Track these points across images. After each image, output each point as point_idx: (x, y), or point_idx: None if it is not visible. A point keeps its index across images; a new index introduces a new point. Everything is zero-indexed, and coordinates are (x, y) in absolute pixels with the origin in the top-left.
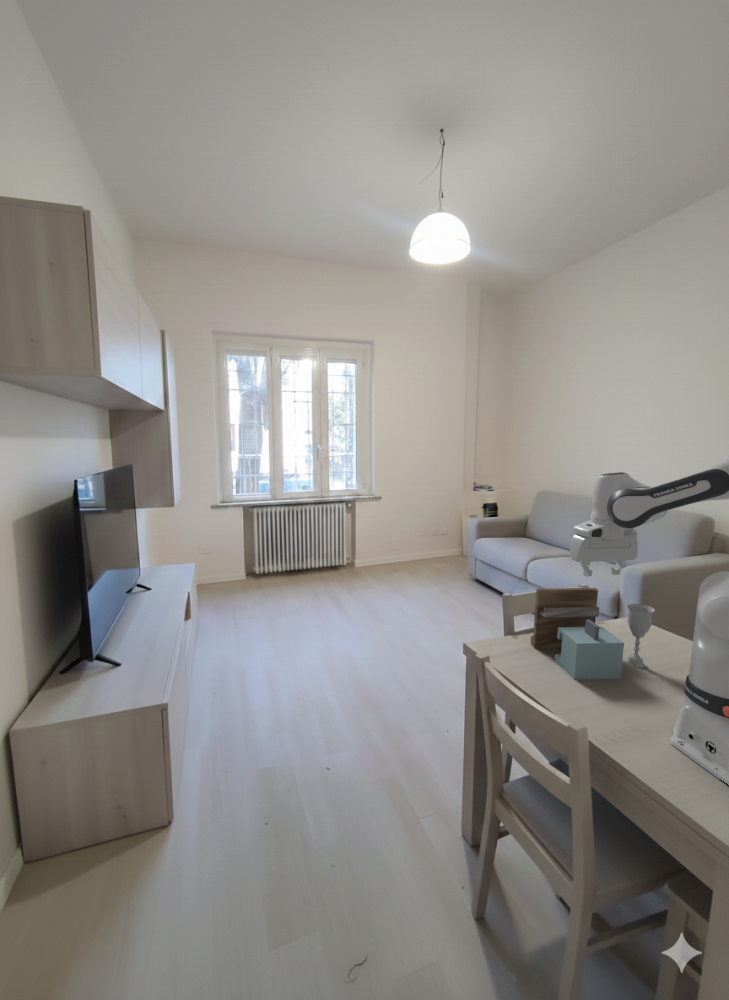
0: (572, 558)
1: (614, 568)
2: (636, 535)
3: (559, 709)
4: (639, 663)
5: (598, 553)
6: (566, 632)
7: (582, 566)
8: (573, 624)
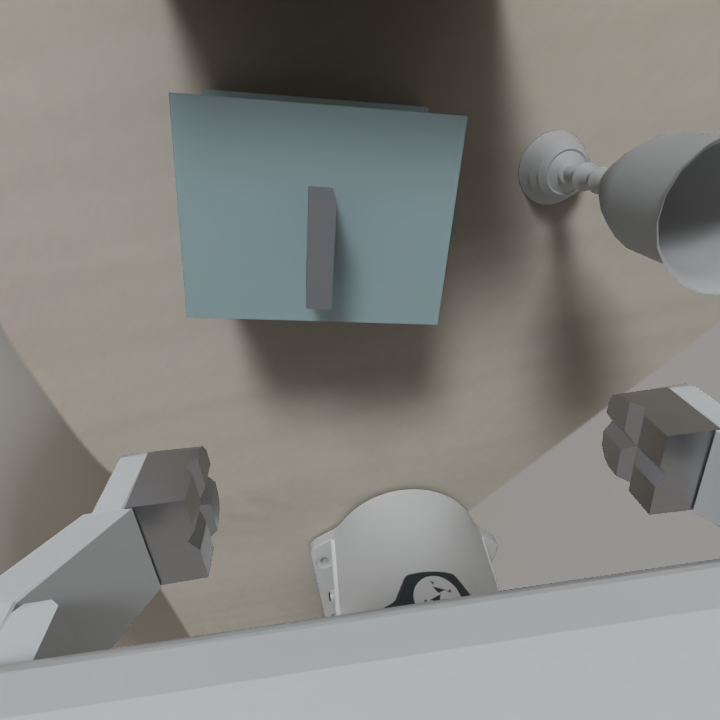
0: None
1: (676, 468)
2: None
3: (83, 419)
4: (551, 200)
5: None
6: (191, 178)
7: (28, 569)
8: None
